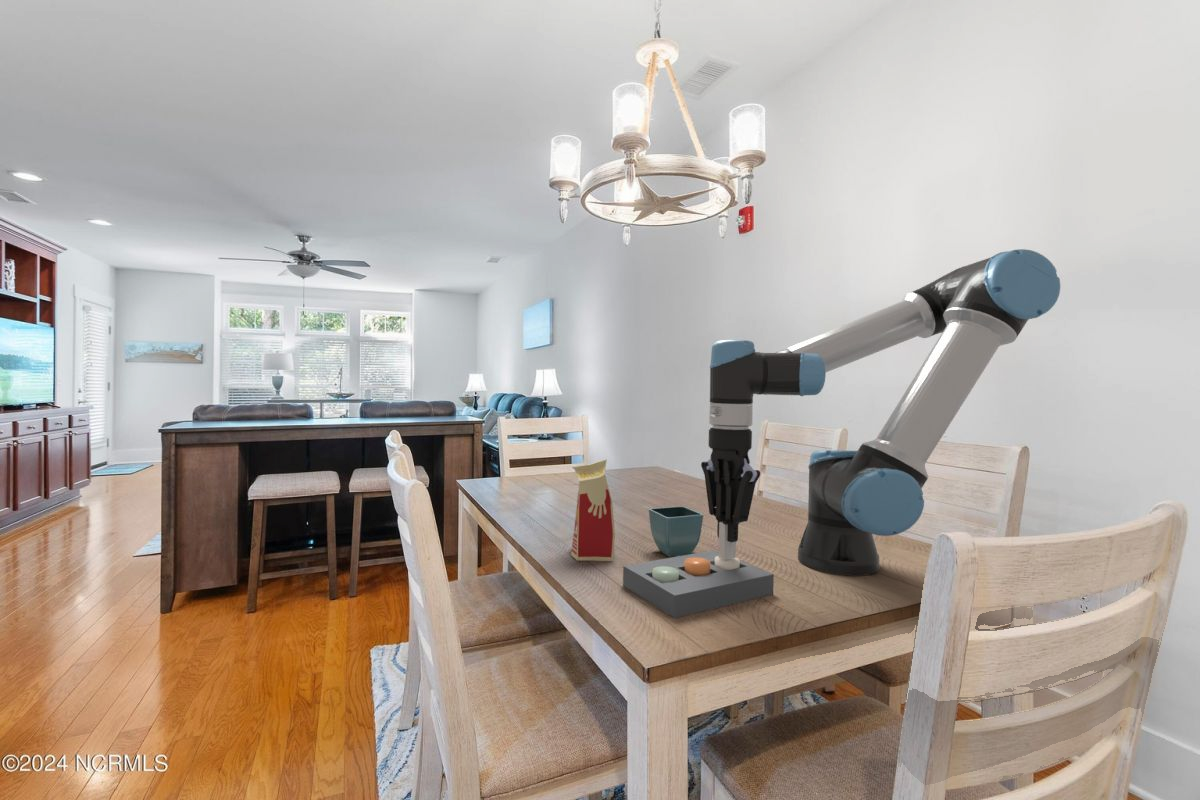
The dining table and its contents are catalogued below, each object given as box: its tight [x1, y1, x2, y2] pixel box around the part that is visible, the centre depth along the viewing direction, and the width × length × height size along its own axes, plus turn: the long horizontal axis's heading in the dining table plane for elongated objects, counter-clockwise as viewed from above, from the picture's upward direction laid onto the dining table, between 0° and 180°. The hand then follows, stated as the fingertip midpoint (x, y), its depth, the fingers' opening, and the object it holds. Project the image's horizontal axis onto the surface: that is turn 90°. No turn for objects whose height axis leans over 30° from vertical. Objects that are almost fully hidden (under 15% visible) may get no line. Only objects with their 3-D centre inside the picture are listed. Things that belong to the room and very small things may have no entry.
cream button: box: [715, 556, 741, 571], centre depth 97 cm, size 4×4×3 cm
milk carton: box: [570, 458, 616, 562], centre depth 113 cm, size 9×9×20 cm
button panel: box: [622, 549, 775, 619], centre depth 94 cm, size 21×15×4 cm
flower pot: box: [648, 505, 704, 558], centre depth 114 cm, size 9×9×9 cm
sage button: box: [652, 566, 679, 583], centre depth 91 cm, size 4×4×3 cm
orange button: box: [685, 557, 710, 577], centre depth 94 cm, size 4×4×3 cm
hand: (726, 557), depth 97 cm, fingers closed
